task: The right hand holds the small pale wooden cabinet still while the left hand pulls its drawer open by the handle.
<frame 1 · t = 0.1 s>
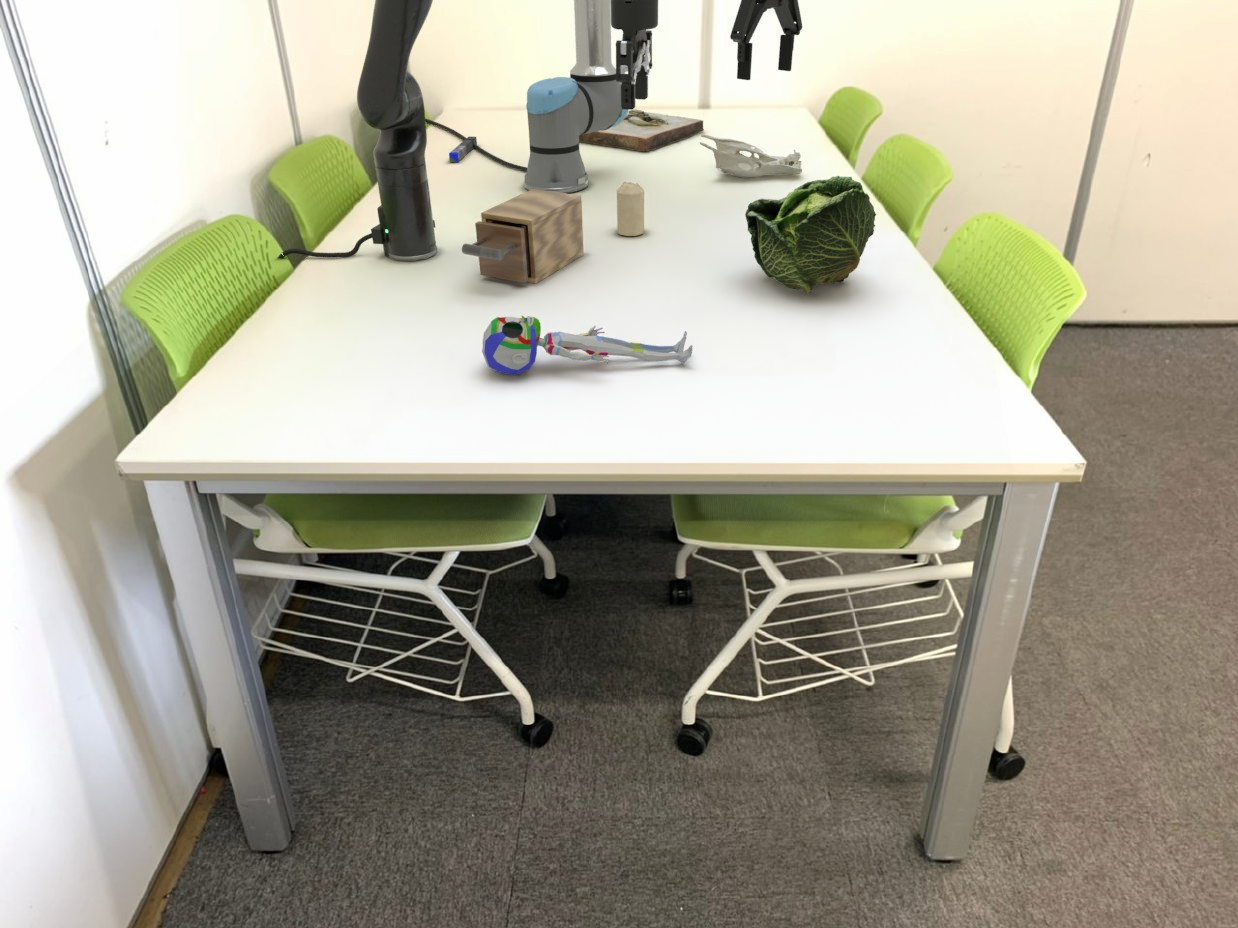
left hand: (634, 104, 149), 29 cm above the table, tool pointing down, fingers open, 8 cm apart
right hand: (764, 75, 179), 28 cm above the table, tool pointing down, fingers open, 13 cm apart
drawer: (516, 244, 162), point 6 cm above the table, slide at 1.5 cm
vegetable: (806, 284, 159), on the table
plaque: (633, 136, 259), on the table
candle: (630, 233, 184), on the table
anatomical model: (749, 175, 221), on the table
cabinet: (536, 264, 169), on the table
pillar: (463, 154, 244), on the table
toy: (587, 365, 132), on the table
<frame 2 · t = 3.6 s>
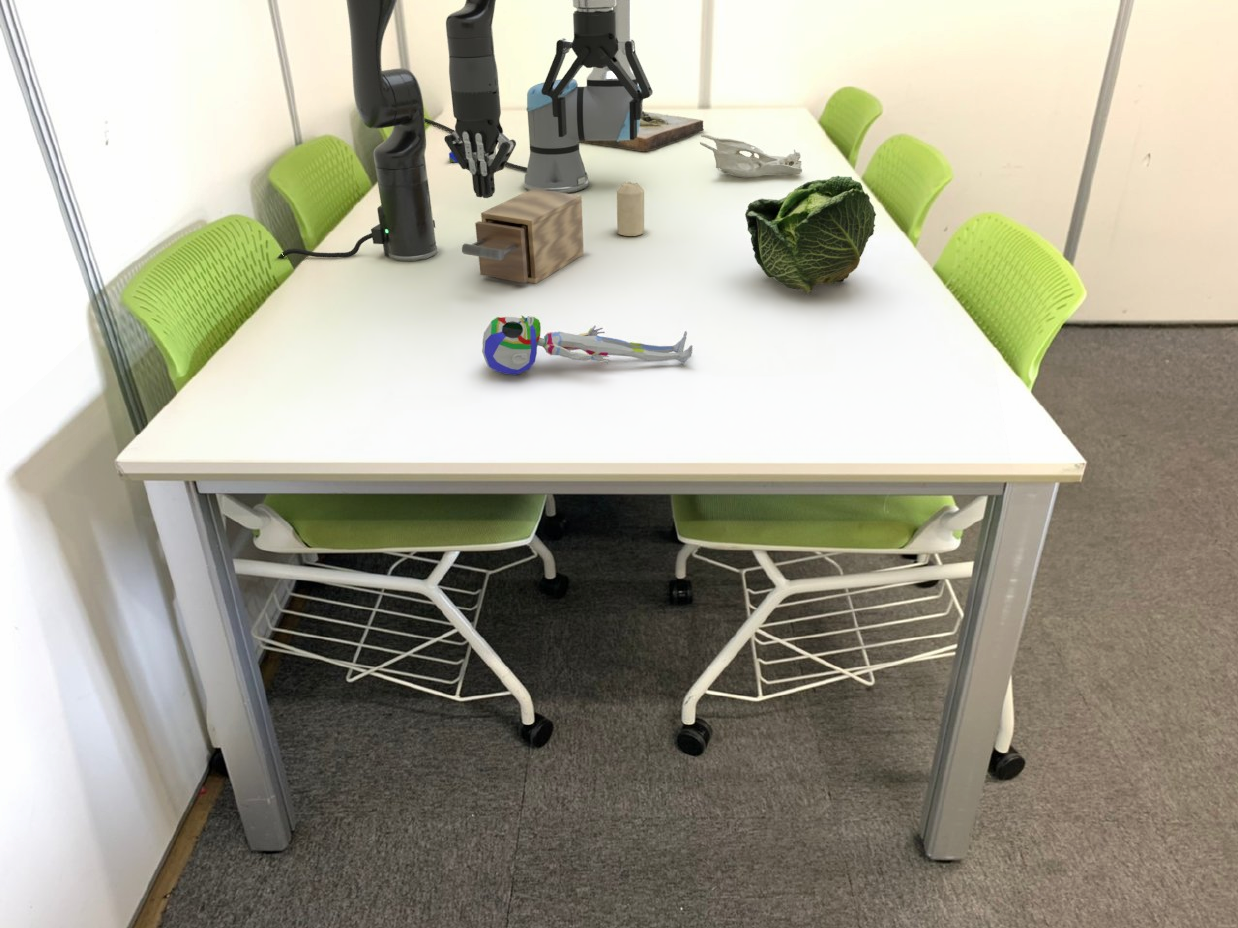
left hand: (485, 196, 150), 16 cm above the table, tool pointing down, fingers closed
right hand: (597, 137, 166), 21 cm above the table, tool pointing down, fingers open, 13 cm apart
nothing on the table moved.
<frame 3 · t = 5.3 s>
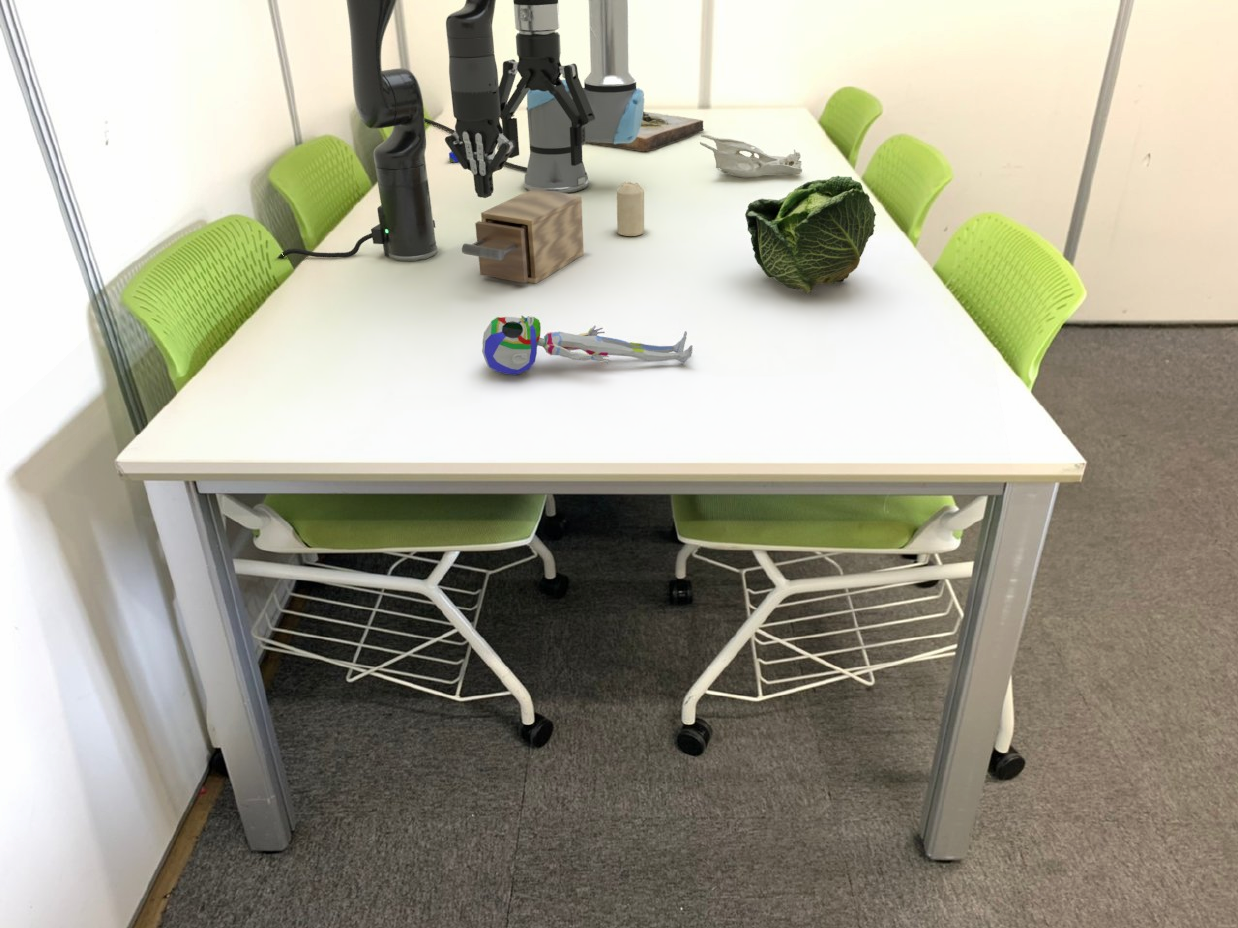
left hand: (485, 196, 150), 16 cm above the table, tool pointing down, fingers closed
right hand: (544, 160, 163), 18 cm above the table, tool pointing down, fingers open, 13 cm apart
nothing on the table moved.
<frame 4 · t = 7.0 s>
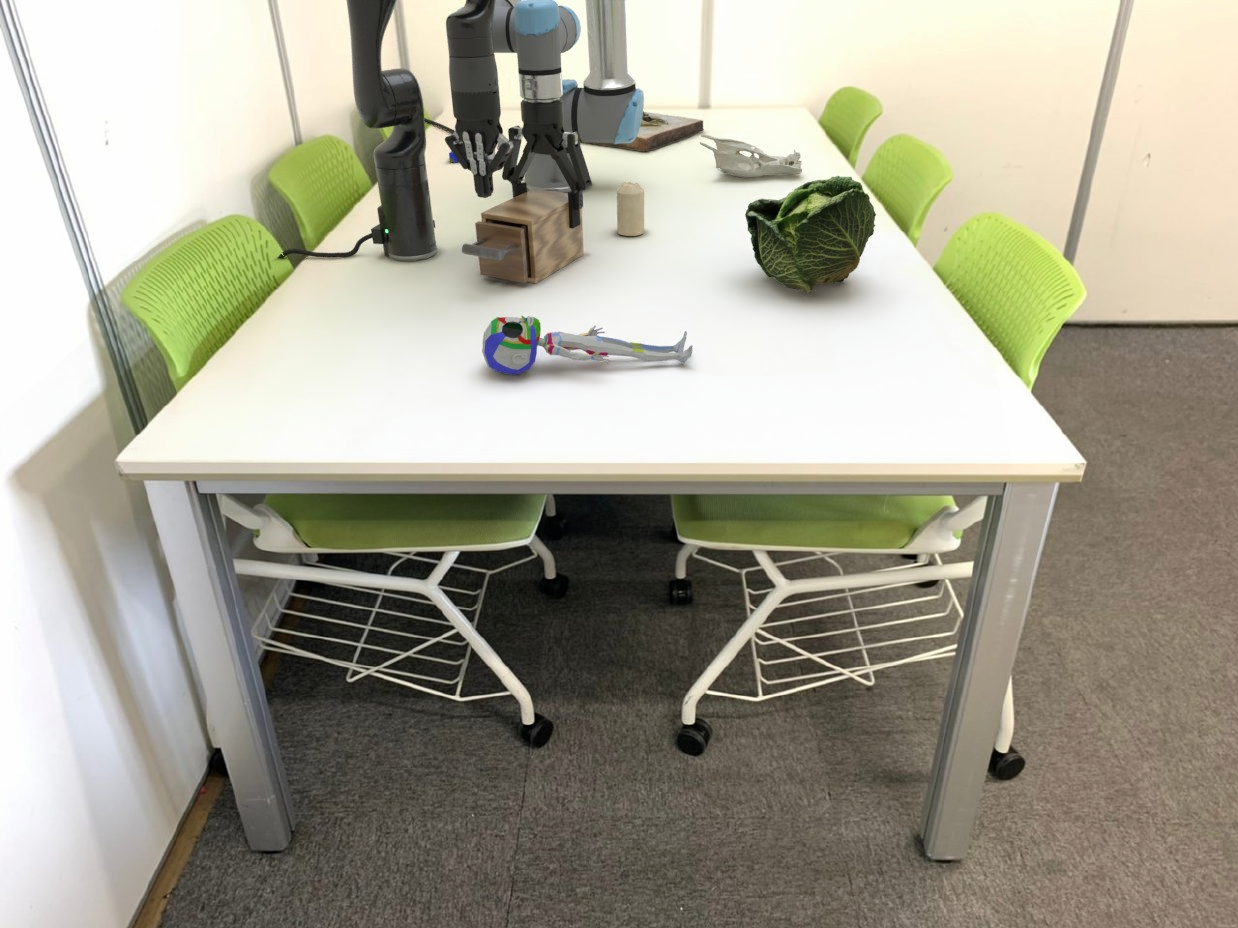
left hand: (485, 196, 150), 16 cm above the table, tool pointing down, fingers closed
right hand: (548, 222, 170), 7 cm above the table, tool pointing down, fingers closed on cabinet, 11 cm apart
cabinet: (536, 264, 169), on the table, touching right hand
everything else where it was.
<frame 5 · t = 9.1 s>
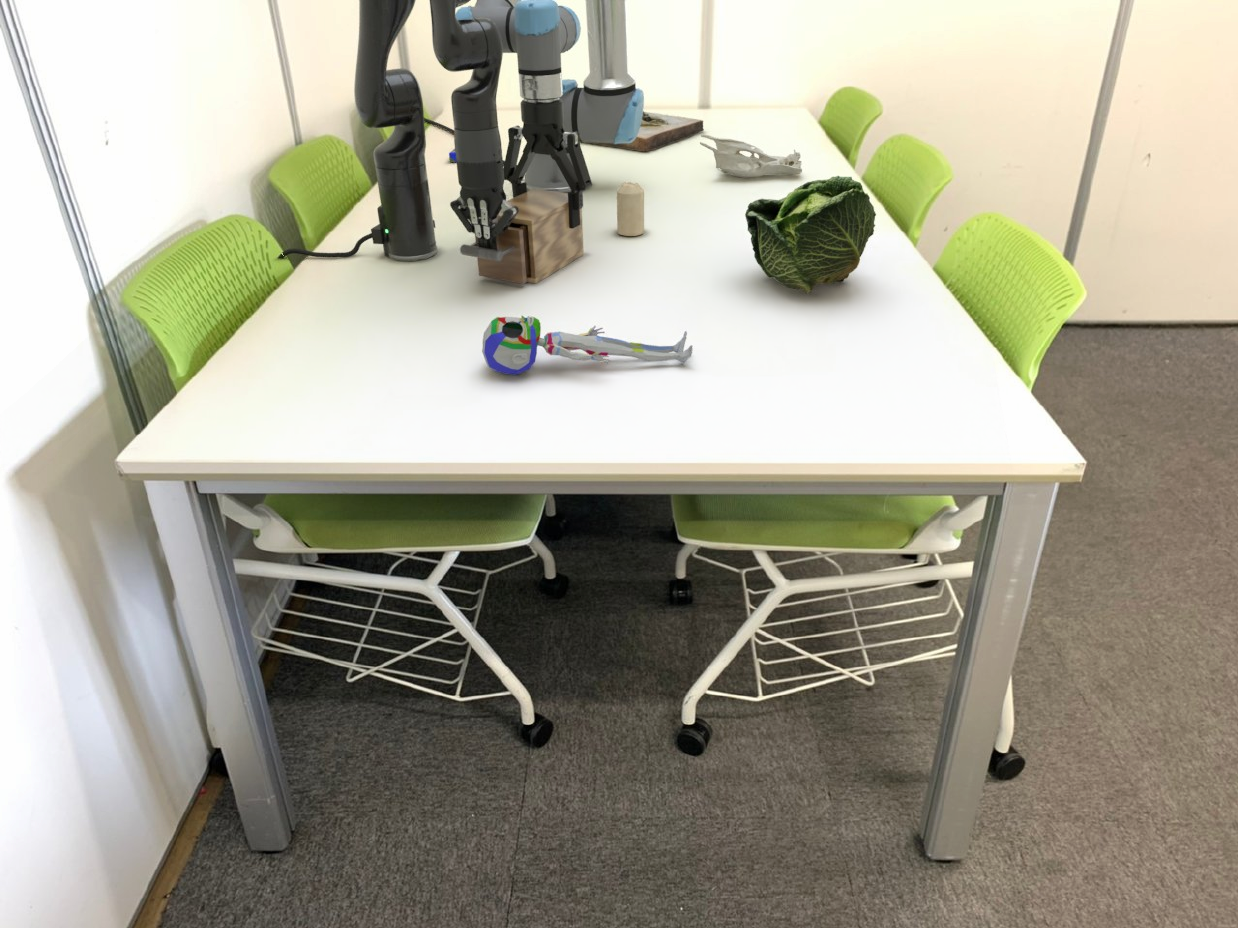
left hand: (489, 257, 155), 6 cm above the table, tool pointing down, fingers closed
right hand: (548, 222, 170), 7 cm above the table, tool pointing down, fingers closed on cabinet, 11 cm apart
drawer: (514, 245, 161), point 6 cm above the table, slide at 1.9 cm, touching left hand
cabinet: (536, 264, 169), on the table, touching right hand
everything else where it was.
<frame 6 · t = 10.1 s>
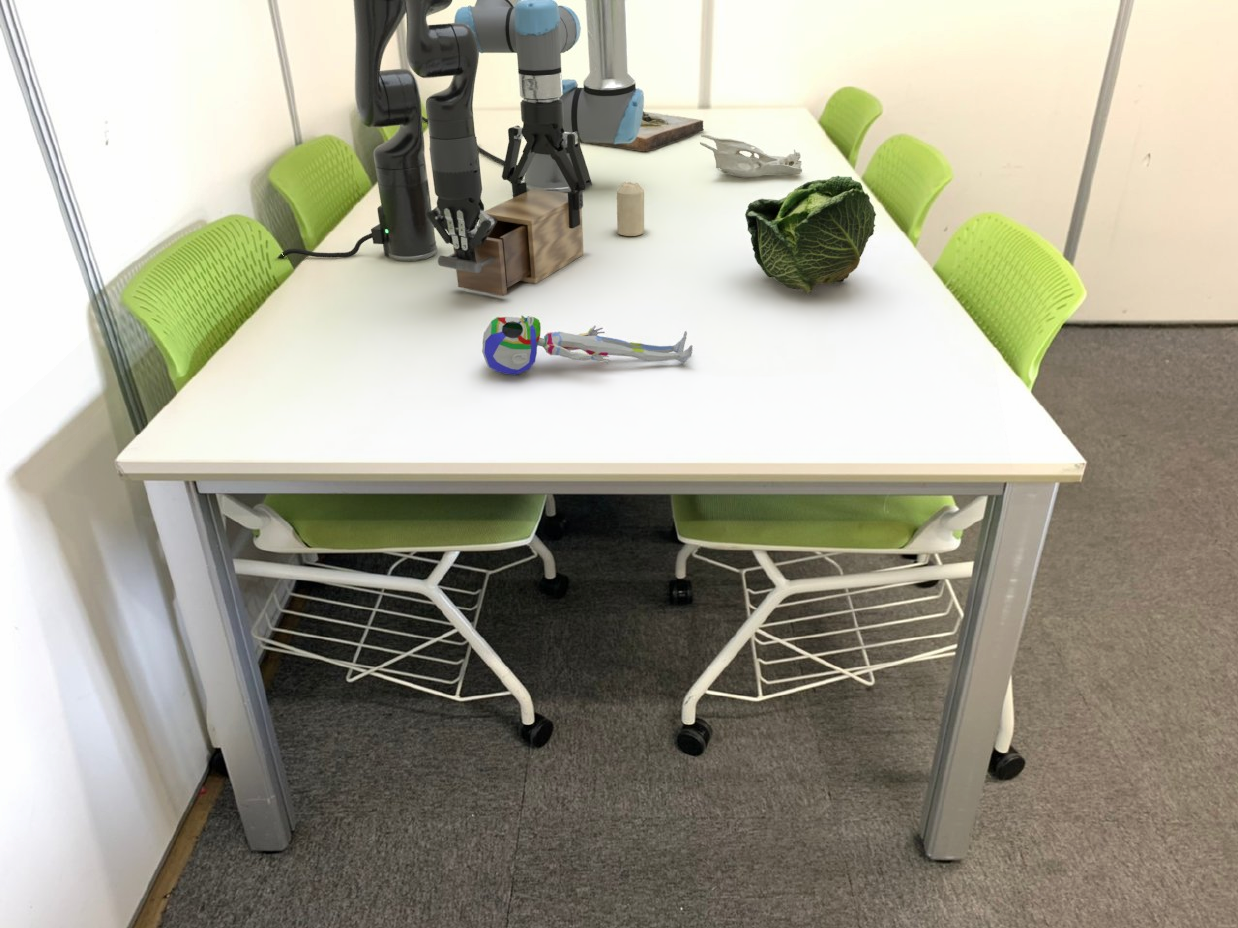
left hand: (467, 269, 151), 6 cm above the table, tool pointing down, fingers closed
right hand: (548, 222, 169), 7 cm above the table, tool pointing down, fingers closed on cabinet, 11 cm apart
drawer: (494, 256, 157), point 6 cm above the table, slide at 8.1 cm, touching left hand
cabinet: (536, 264, 169), on the table, touching right hand
everything else where it was.
when the right hand's fingers open (7 cm above the table, at t = 11.7 s): cabinet stays where it is, on the table.
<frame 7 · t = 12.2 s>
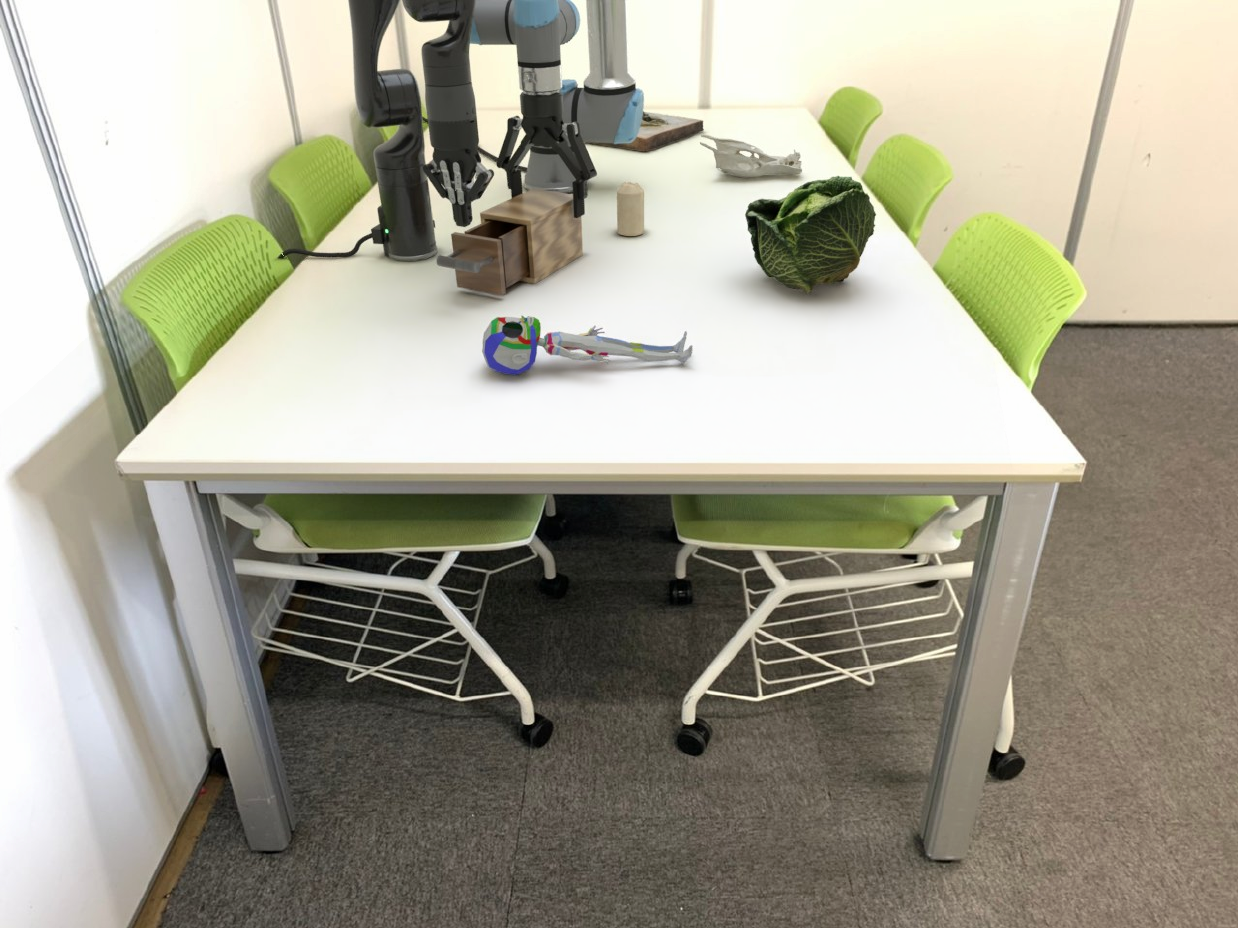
left hand: (463, 225, 147), 13 cm above the table, tool pointing down, fingers closed
right hand: (548, 211, 169), 9 cm above the table, tool pointing down, fingers open, 13 cm apart
drawer: (493, 255, 157), point 6 cm above the table, slide at 8.2 cm
cabinet: (535, 264, 169), on the table
everything else where it was.
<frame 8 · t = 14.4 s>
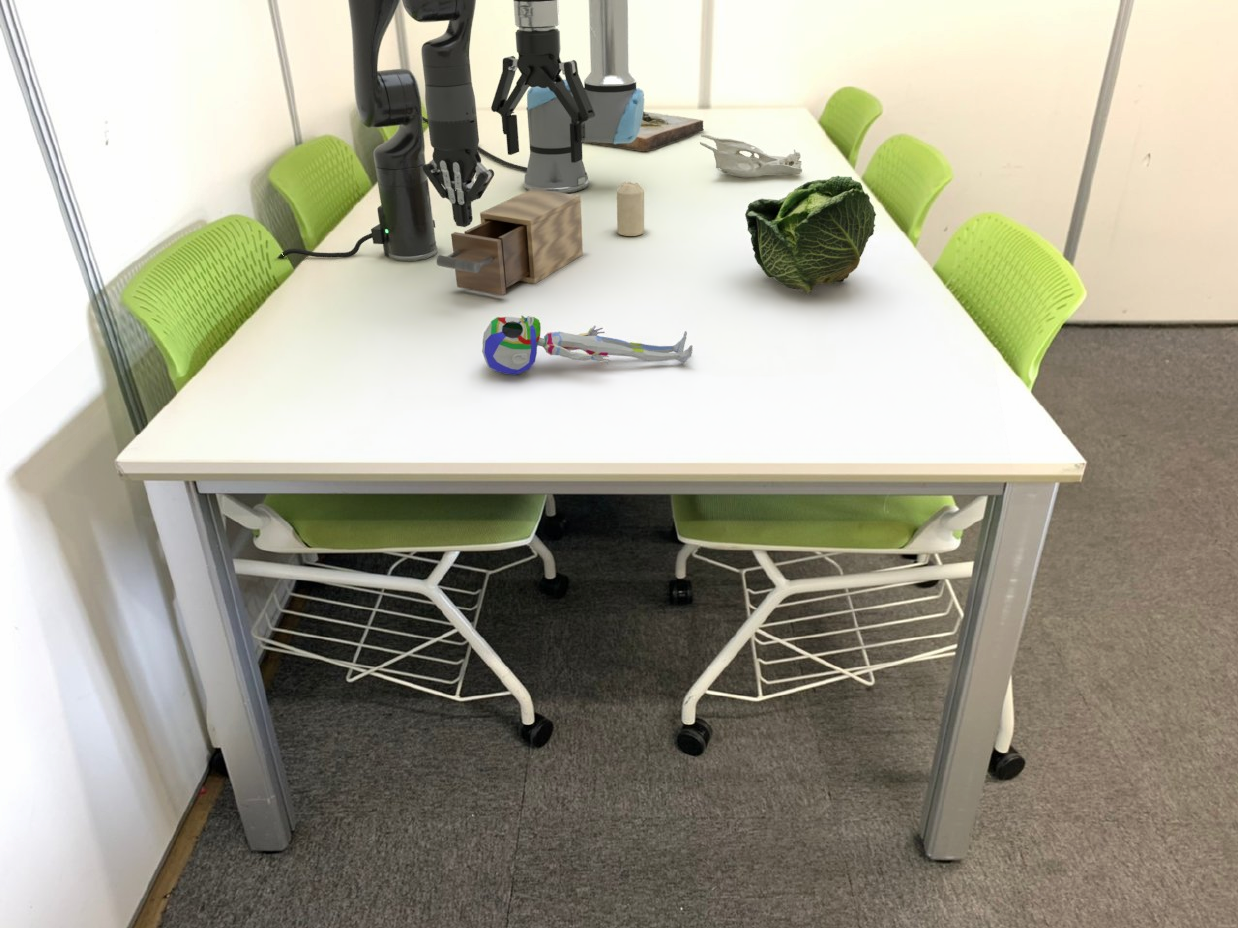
left hand: (463, 225, 147), 13 cm above the table, tool pointing down, fingers closed
right hand: (544, 157, 163), 19 cm above the table, tool pointing down, fingers open, 13 cm apart
nothing on the table moved.
at the end: drawer slide at 8.2 cm; cabinet tilted 0°; cabinet never tilted more than 1° during the clip; cabinet moved 0.2 cm from its start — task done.
